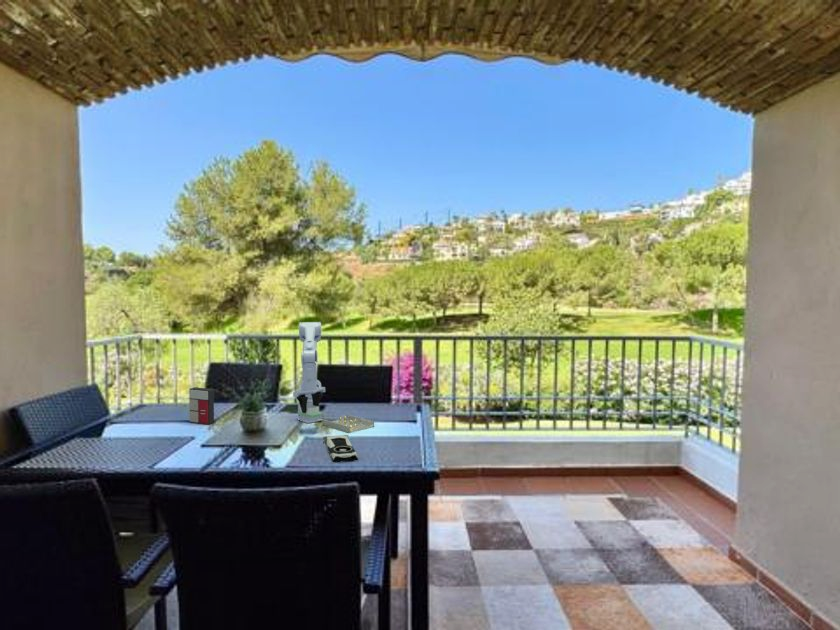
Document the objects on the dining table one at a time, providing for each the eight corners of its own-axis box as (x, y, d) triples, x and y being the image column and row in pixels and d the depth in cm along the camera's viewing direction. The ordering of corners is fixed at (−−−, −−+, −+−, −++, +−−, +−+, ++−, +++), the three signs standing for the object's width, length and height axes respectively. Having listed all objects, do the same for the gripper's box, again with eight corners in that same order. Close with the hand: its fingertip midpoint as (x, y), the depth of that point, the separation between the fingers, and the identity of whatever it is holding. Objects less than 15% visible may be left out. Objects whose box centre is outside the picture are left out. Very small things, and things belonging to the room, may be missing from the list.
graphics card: (348, 434, 224) (358, 452, 200) (348, 442, 224) (358, 462, 200) (322, 435, 221) (329, 455, 197) (322, 444, 221) (329, 464, 197)
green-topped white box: (297, 414, 238) (297, 405, 238) (307, 412, 242) (307, 403, 242) (311, 418, 231) (311, 409, 231) (321, 416, 235) (321, 407, 235)
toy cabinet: (188, 422, 250) (187, 388, 249) (195, 420, 254) (195, 387, 253) (208, 425, 246) (207, 390, 245) (215, 422, 250) (214, 389, 249)
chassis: (322, 425, 248) (322, 417, 248) (347, 419, 258) (347, 412, 258) (348, 433, 235) (348, 425, 235) (374, 426, 245) (374, 419, 245)
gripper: (300, 382, 228) (300, 416, 229) (329, 378, 238) (329, 410, 239) (290, 380, 233) (290, 413, 234) (319, 376, 243) (319, 407, 244)
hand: (309, 411), depth 237 cm, fingers closed on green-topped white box, 5 cm apart
